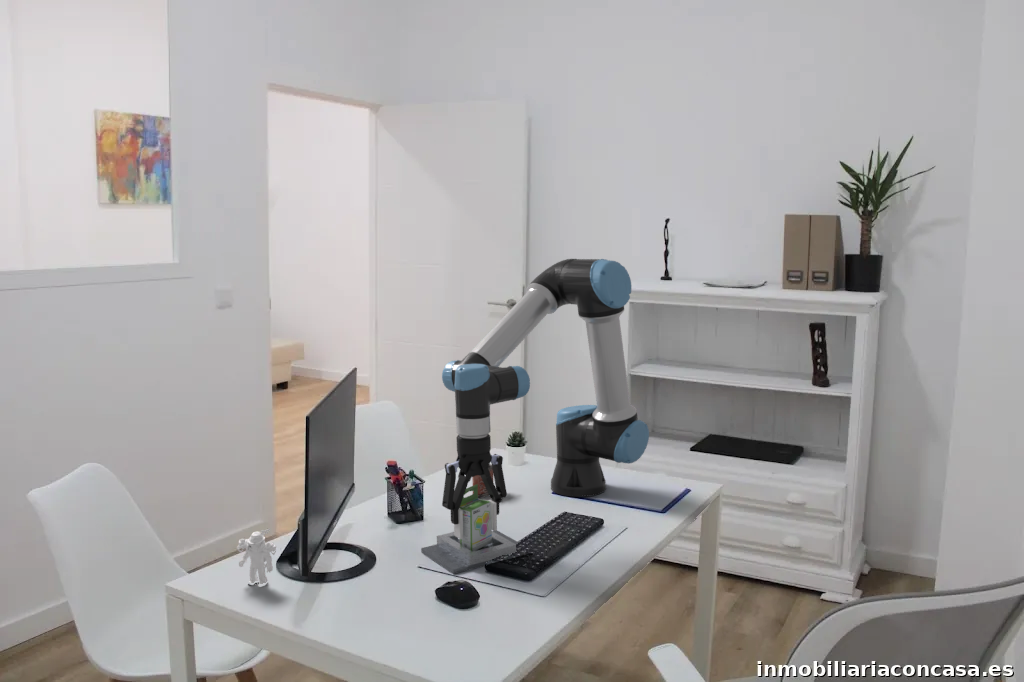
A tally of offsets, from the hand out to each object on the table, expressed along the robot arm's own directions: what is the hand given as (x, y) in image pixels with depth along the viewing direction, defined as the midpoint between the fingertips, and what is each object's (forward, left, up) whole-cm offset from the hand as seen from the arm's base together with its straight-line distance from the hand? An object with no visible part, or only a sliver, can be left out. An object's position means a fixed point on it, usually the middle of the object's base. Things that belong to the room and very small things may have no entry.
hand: (475, 532), depth 199 cm
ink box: (0, 0, -3) cm, 3 cm away
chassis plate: (0, 0, -5) cm, 5 cm away
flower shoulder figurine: (+46, -11, -5) cm, 48 cm away
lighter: (-23, -35, -5) cm, 43 cm away
